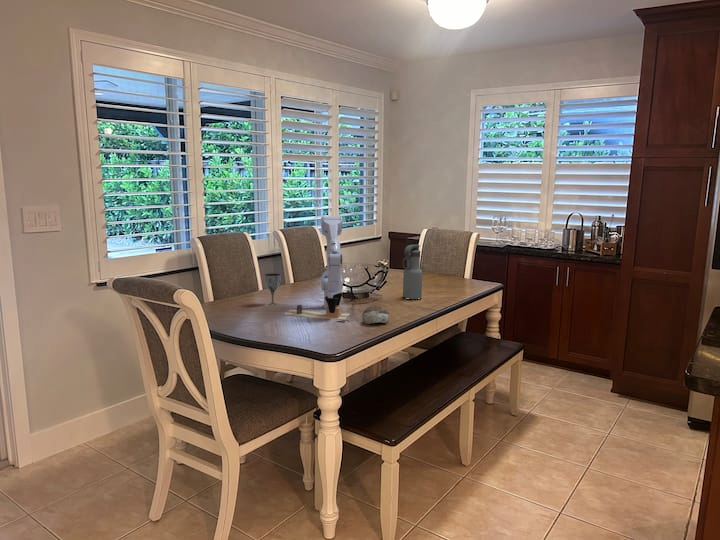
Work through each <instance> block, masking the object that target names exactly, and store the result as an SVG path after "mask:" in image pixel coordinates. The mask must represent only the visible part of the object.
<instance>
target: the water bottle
mask: <svg viewBox="0 0 720 540" xmlns="http://www.w3.org/2000/svg"><path fill="white" fill-rule="evenodd" d="M420 247H421V245H420V244H409V245H406V247H405V249H404V251H403V254H404V255H405V256H404V258H403V259H402V268H404V269H403V281H402V284H403V285H402V298H403V297H405V298H409V299H418V298H421V299H422V296H423V292H422V291H423V270H422V269H421V268H420V265H421V264H420V262H421V250H420ZM405 261H406V266H405Z"/></svg>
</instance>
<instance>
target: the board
mask: <svg viewBox="0 0 720 540" xmlns="http://www.w3.org/2000/svg"><path fill="white" fill-rule="evenodd" d="M336 308H337V307H336ZM349 315H351V313H349V312H341V316H340V317H339V318H336V317H326V311H320V310H319V311H318V310H308V309H307V310H304V309H303V304H297V305H296V309H293V308H291V309H289V310H288V311H287V312H285V313H284V314H282V317H294V318H296V317H298V318H307V319H308V318H309V319H310V318H311V319H323V320H336V321H335V323H344V324H345V322H346V321H347V317H349Z"/></svg>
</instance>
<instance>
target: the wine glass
mask: <svg viewBox="0 0 720 540" xmlns="http://www.w3.org/2000/svg"><path fill="white" fill-rule="evenodd" d="M281 275H282V274H281V273H279V272H267V273H264V274H263V279H264V280H263V282H264V284H265V287H266V289H268V290H269V291H270V295H271V302H270V303H266V304H265V306H266V305H268V306H267V307H270V306H279V304H280V303H276V302H275V300H274V296H275V293H276V291H277V290H278V288H279V287H280V285H281V281H282V279H281V278H282V276H281Z"/></svg>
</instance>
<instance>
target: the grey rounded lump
mask: <svg viewBox="0 0 720 540" xmlns="http://www.w3.org/2000/svg"><path fill="white" fill-rule="evenodd" d="M361 318H362V322H363V323H364V324H367V325H370V324H375V323H377V324H378V323H382V324H387V323H388V322H389V319H390V311H389V310H388V309H387V308H385V307H381V306H377V305H376V306H373V305H371V306H368V307H367V308H365V310H364V311H363V312H362V317H361ZM386 322H387V323H386Z"/></svg>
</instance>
